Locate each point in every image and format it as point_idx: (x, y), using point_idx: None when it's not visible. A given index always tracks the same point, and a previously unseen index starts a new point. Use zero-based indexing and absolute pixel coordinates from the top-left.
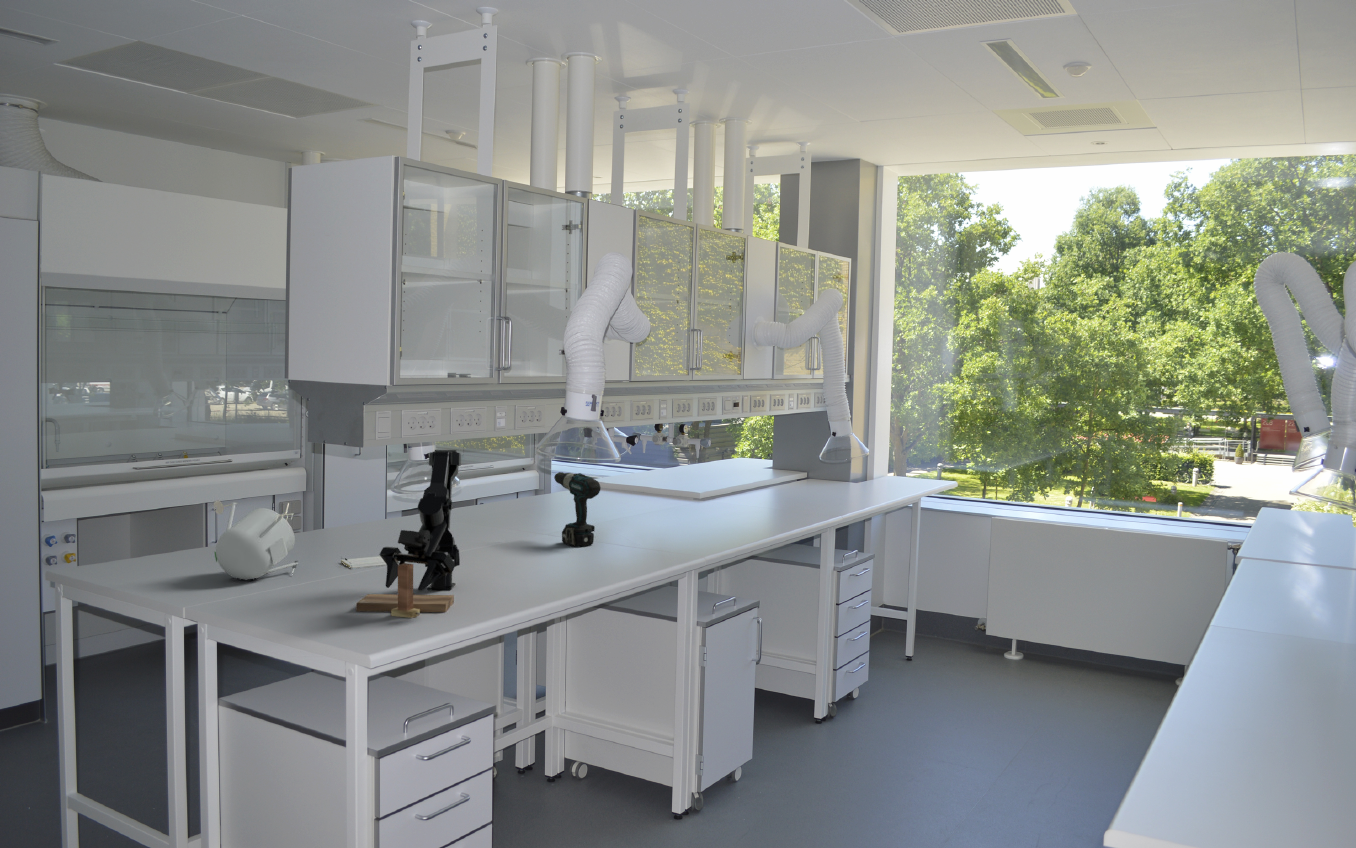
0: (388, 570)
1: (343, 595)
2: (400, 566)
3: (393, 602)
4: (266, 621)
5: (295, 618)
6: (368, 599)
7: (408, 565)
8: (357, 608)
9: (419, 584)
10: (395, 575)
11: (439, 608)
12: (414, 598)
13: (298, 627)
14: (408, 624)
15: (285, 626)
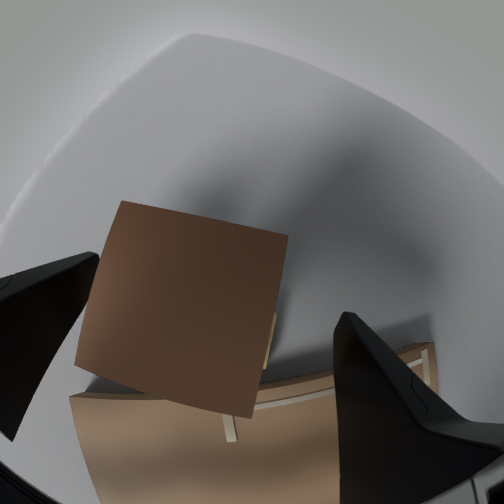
0: (416, 385)
1: None
2: (235, 227)
3: (305, 395)
4: (497, 201)
5: (482, 229)
6: None
7: (111, 254)
8: (418, 344)
9: (80, 262)
10: (350, 437)
11: (98, 395)
12: (241, 482)
13: (433, 156)
14: (159, 206)
15: (455, 165)
